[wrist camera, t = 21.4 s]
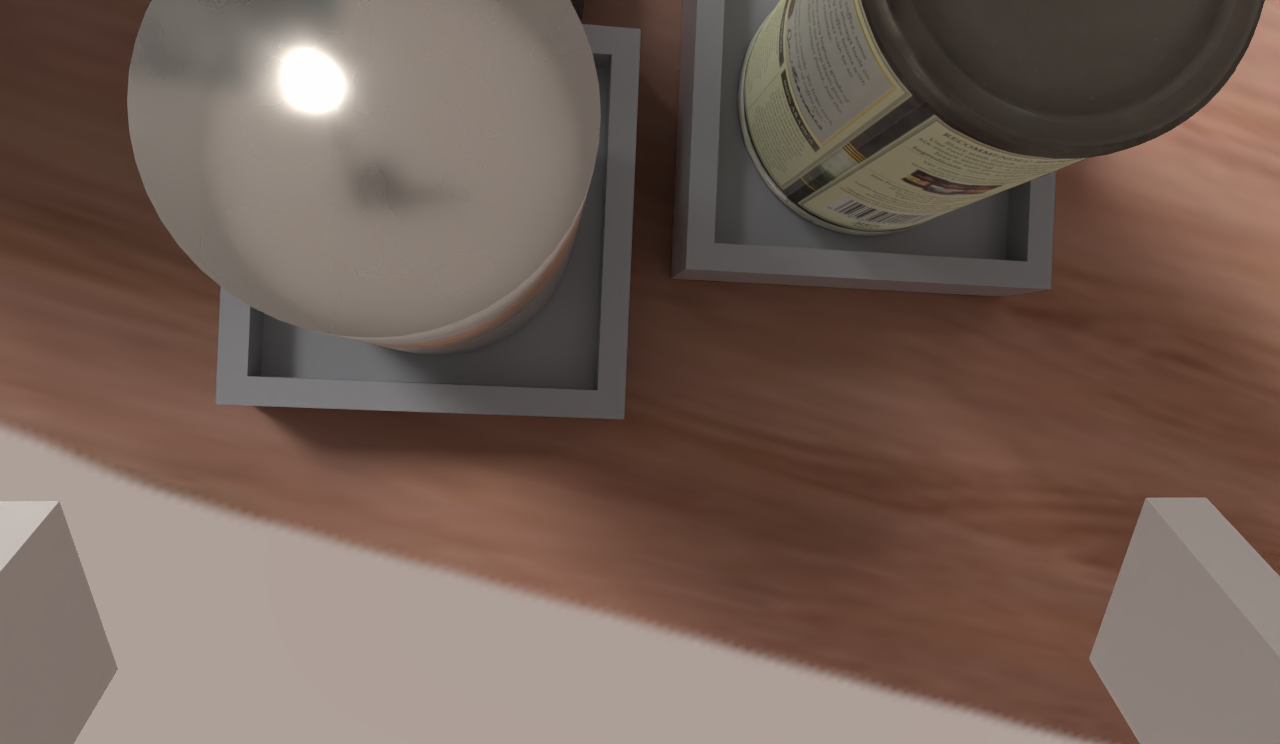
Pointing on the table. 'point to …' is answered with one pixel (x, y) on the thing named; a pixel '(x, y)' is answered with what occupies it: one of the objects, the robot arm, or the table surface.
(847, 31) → the coffee can
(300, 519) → the table surface
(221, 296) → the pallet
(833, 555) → the table surface
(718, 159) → the tray
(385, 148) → the steel tin
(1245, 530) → the table surface
